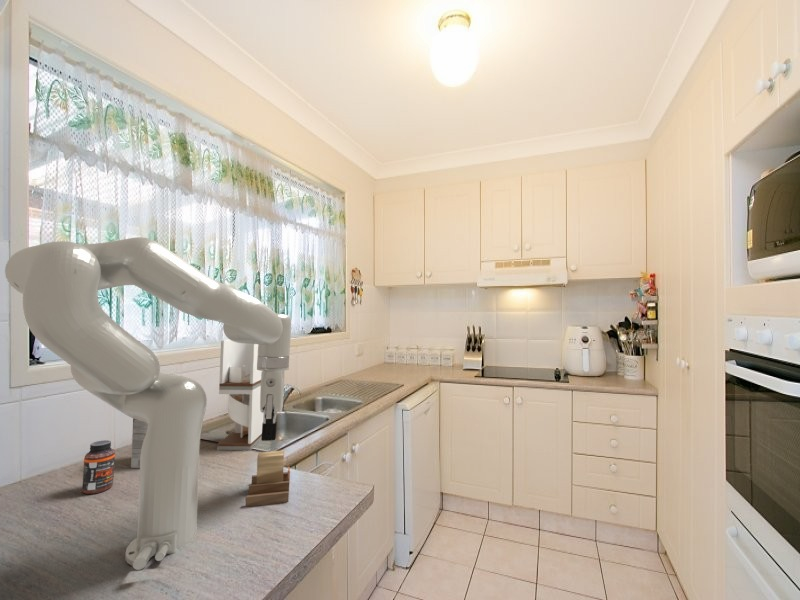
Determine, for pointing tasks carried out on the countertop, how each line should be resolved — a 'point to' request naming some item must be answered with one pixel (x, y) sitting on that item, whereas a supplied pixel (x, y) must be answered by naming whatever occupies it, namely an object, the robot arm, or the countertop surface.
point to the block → (270, 467)
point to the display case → (241, 394)
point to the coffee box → (137, 441)
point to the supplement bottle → (98, 467)
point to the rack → (268, 491)
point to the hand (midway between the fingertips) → (268, 439)
